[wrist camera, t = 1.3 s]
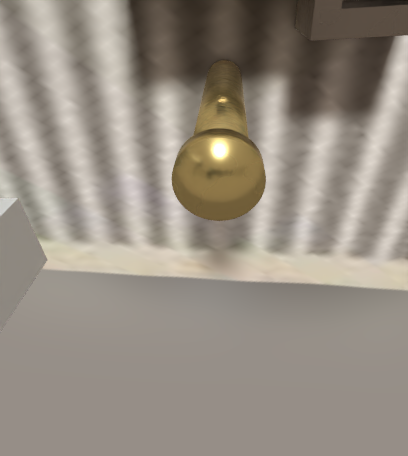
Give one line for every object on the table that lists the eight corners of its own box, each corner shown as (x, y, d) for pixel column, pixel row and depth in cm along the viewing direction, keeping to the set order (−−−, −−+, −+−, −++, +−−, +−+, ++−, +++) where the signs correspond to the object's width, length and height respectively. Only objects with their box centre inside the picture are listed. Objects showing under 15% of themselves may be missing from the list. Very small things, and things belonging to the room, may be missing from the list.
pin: (202, 103, 28) (177, 221, 15) (199, 54, 26) (166, 139, 12) (247, 102, 28) (263, 220, 14) (248, 51, 26) (268, 136, 12)
